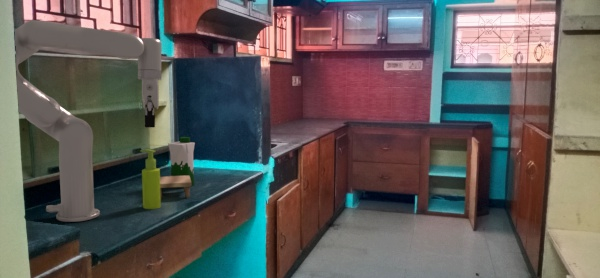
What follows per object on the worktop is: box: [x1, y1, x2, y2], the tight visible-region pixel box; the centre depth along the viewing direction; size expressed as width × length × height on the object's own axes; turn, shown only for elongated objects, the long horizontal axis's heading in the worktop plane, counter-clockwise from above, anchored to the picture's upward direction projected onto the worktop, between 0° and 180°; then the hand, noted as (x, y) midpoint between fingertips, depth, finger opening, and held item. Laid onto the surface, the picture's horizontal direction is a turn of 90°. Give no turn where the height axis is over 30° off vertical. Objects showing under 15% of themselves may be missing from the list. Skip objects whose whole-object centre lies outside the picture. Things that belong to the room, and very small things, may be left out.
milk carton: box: [167, 136, 196, 189], centre depth 196 cm, size 9×9×20 cm
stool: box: [160, 175, 192, 200], centre depth 181 cm, size 13×13×6 cm
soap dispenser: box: [139, 148, 162, 210], centre depth 164 cm, size 6×7×20 cm
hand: (149, 125), depth 163 cm, fingers open, 9 cm apart
